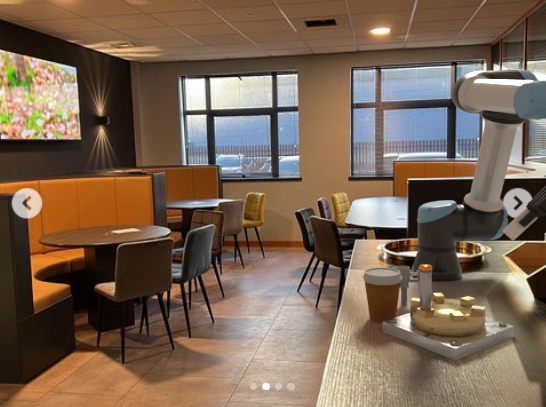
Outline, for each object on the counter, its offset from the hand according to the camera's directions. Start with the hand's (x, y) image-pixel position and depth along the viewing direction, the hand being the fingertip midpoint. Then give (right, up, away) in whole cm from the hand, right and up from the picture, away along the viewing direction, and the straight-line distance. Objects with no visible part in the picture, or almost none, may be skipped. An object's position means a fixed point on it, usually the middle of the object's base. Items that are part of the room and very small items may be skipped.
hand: (507, 235), depth 107 cm
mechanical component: (-13, -20, +33) cm, 41 cm away
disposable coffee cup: (-21, -22, +22) cm, 38 cm away
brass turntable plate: (-9, -20, +10) cm, 24 cm away
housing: (-9, -23, +11) cm, 27 cm away
